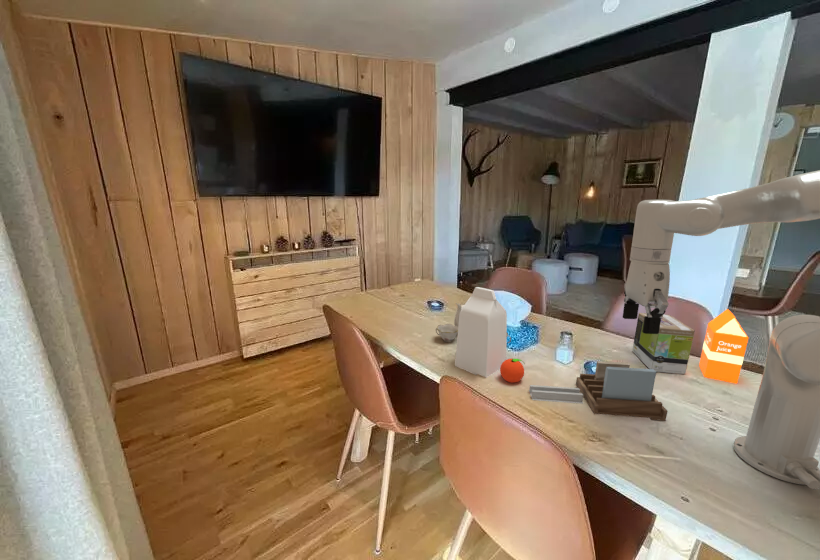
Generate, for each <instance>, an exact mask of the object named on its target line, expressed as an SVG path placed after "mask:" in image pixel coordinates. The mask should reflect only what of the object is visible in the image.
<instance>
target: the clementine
mask: <svg viewBox="0 0 820 560" xmlns="http://www.w3.org/2000/svg"><path fill="white" fill-rule="evenodd" d="M521 362H523V360H522V359H520V358H506V360H505V361H504V362H503V363H502V364H501V367H500V369H499V373H500V375H501V377H502V378H503V380H505V381H506V382H508V383H511V384H513V383H519V382H520V381H521V380H523V377H525V368H524V365H526V363H525V362H523V364H524V365H523V364H522V363H521Z"/></svg>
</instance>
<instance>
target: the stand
mask: <svg viewBox="0 0 820 560" xmlns="http://www.w3.org/2000/svg"><path fill="white" fill-rule="evenodd" d="M528 392H529V394H530V397H531V400H532V401H539V402H552V403H553V402H555V403H568V404H581V405H584V402H583V400H584V396H583V394H582V393H581V391H580V389H579V388H578V387H566V386H565V387H563V386H553V385H552V386H551V385H535V384H530V385H529V389H528Z"/></svg>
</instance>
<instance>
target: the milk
mask: <svg viewBox="0 0 820 560" xmlns="http://www.w3.org/2000/svg"><path fill="white" fill-rule="evenodd" d="M507 314H508V313H507V310H506V309H505V308H504V306H503V305H502V304H501V303H500V302H499V301H498V300H497V297H496V293H495V291H494V289H493V290H492V289H489V288H485V287H481V286H480V287H479V286H476V287H474V289H473V292H472V294H471V295H470V297H469V298H468V300H466V302H465V303H464V305H463V306H462V309H461V311H460V314H459V325H458V333H457V335H456V337H457V338H456V346H455V347H456V349H455V350H456V351H455V360H454V367H456V368H458V369H461V370H463V369H464V371H465V370H466V371H465V372H468V373H471V374H472V375H475V376H478V375H479V376H481V377H484V378H488V377H489V376H491V375H494V374H495V373H496V372H497V371H500V367H501V364H502V363H503V362H504V361H505V360H507V344H506V343H507V342H508V340H507V338H508V336H507V333H508V332H507V331H508V330H507V329H508V328H507V325H508V322H507V321H508V320H507V319H508V317H507V316H508V315H507Z"/></svg>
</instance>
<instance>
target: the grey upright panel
mask: <svg viewBox="0 0 820 560" xmlns="http://www.w3.org/2000/svg"><path fill="white" fill-rule="evenodd" d="M656 375H657V372H656V371H655V370H654V369H649V368H641V367H640V368H634V367H629V368H622V367H606V371H605V378H604V385H603V392H602V398H610V399H624V400H639V401H651V398H652V395H653V393H654V392H653V391H654V386H655V381H656V377H657V376H656Z"/></svg>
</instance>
